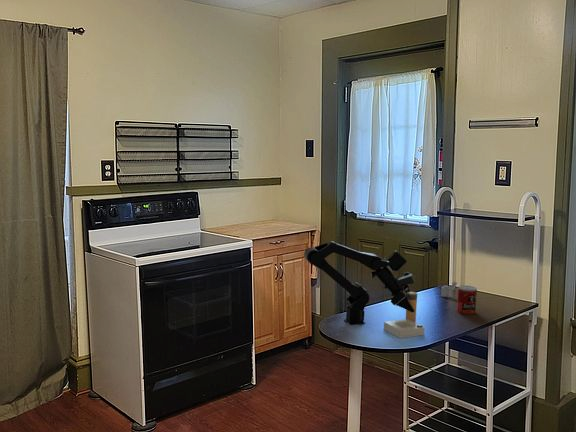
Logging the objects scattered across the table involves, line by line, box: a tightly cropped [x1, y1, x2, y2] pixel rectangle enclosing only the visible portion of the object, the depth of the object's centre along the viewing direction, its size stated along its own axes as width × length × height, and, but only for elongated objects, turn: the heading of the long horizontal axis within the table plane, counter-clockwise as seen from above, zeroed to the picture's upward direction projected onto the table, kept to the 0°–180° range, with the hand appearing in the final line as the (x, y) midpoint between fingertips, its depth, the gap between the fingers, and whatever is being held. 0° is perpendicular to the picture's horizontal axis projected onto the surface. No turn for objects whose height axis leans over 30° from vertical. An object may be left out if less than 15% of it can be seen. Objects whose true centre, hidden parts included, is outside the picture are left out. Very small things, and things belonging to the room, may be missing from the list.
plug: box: [405, 291, 418, 323], centre depth 230 cm, size 4×4×13 cm
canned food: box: [456, 284, 478, 315], centre depth 250 cm, size 8×8×11 cm
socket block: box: [383, 318, 426, 339], centre depth 221 cm, size 11×11×4 cm
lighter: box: [440, 281, 458, 299], centre depth 274 cm, size 7×2×8 cm, turn 51°
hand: (414, 309), depth 230 cm, fingers open, 8 cm apart
